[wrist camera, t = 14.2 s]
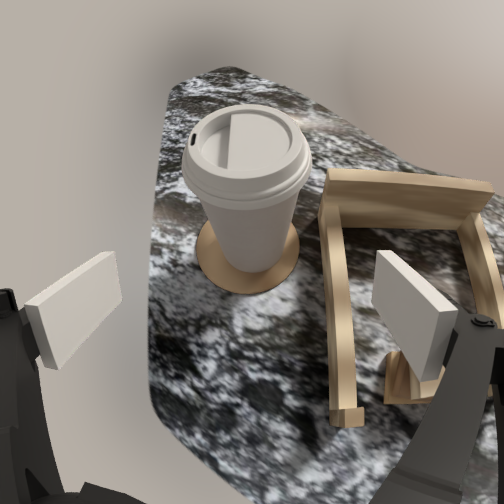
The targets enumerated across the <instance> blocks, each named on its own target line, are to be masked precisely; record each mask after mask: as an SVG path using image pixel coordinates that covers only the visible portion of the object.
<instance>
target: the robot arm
mask: <svg viewBox="0 0 504 504" xmlns="http://www.w3.org/2000/svg"><path fill="white" fill-rule="evenodd" d="M121 302H122V294H121V289H120V283H119V277H118V271H117V264H116V257H115V252H101V253H100V254H98V255H96V256H95V257H93V258H92V259H90V260H89V261H87V262H85V263H84V264H82V265H81V266H79V267H78V268H76V269H75V270H73V271H72V272H70V273H69V274H67V275H66V276H64V277H63V278H61V279H60V280H58V281H57V282H55V283H54V284H52V285H51V286H49V287H48V288H46V289H45V290H43V291H42V292H40V293H39V294H38V295H36V296H35V297H33V298H32V299H31V300H29V301H28V302H26V303H25V304H24V306H25V307H23V308H22V309H21V310H19V311H18V307H17V304H16V300H15V296H14V293H13V290H12V289H6V288H5V289H0V504H146V503H143V502H141V501H139V500H137V499H135V498H133V497H131V496H129V495H127V494H125V493H121V492H117V491H114V490H110V489H107V488H103V487H100V486H97V485H93V484H90V483H87V482H85V483H84V485H83V487H82V489H81V491H80V493H78V492H75V493H74V492H66V493H65V492H64V489H63V486H62V483H61V480H60V476H59V473H58V469H57V466H56V462H55V458H54V455H53V450H52V447H51V442H50V438H49V433H48V428H47V423H46V418H45V412H44V406H43V400H42V394H41V387H40V379H39V371H38V366H37V363H36V361H35V359H36V358H37V357H38V356H39V355H40V356H41V358H42V361H43V364H44V366H45V367H47V368H51V369H55V370H59V369H60V368H61V367H62V366H63V365H64V364H65V363H66V362H67V360H68V359H69V358H70V357H71V356H72V355H73V353H74V352H75V351H76V350H77V349H78V348H79V347H80V346H81V345H82V344H83V342H84V341H85V340H86V339H87V338H88V337H89V336H90V335H91V334H92V333H93V331H94V330H95V329H96V328H97V327H98V326H99V325H100V324H101V323H102V322H103V320H105V318H106V317H107V316H108V315H109V314H110V313H111V312H112V311H113V310H114V309H115V308H116V307H117V306H118V305H119V304H120V303H121ZM371 303H372V304H373V306H374V307H375V309H376V310H377V312H378V314H379V315H380V317H381V318H382V320H383V321H384V323H385V325H386V326H387V328H388V330H389V331H390V333H391V334H392V336H393V338H394V339H395V341H396V343H397V344H398V346H399V348H400V349H401V351H402V353H403V354H404V356H405V358H406V359H407V361H408V363H409V364H410V366H411V368H412V370H413V371H414V373H415V375H416V376H417V378H418V380H419V382H425V381H431V380H437V379H438V378H439V375H440V372H441V369H442V366H444V367H445V372H444V374H443V376H442V379H441V381H440V383H439V386H438V388H437V390H436V392H435V394H434V397H433V399H432V401H431V403H430V405H429V407H428V409H427V411H426V413H425V415H424V417H423V419H422V421H421V423H420V425H419V427H418V429H417V431H416V433H415V434H414V436H413V438H412V440H411V442H410V443H409V445H408V447H407V449H406V450H405V452H404V454H403V456H402V457H401V459H400V461H399V462H398V464H397V465H396V467H395V468H393V469H392V470H391V472H390V473H389V475H388V476H387V478H386V479H385V481H384V482H383V484H382V485H381V487H380V488H379V489H378V491H377V492H376V494H375V495H374V497H373V498H372V499H371V501H370V502H369V503H368V504H460V502H461V499H462V491H459V487H460V484H461V482H462V479H463V476H464V474H465V471H466V468H467V466H468V463H469V460H470V457H471V454H472V451H473V448H474V444H475V441H476V438H477V434H478V431H479V427H480V423H481V420H482V416H483V412H484V407H485V403H486V399H487V394H488V389H489V385H491V386H492V393H493V400H494V408H495V418H496V429H497V443H498V504H504V329H498V326H497V323H496V322H495V321H494V320H493V319H492V318H490V317H488V316H485V315H482V314H469V313H468V312H467V311H465V310H464V309H463V308H462V307H461V306H460V305H459V304H458V303H457V302H456V301H454V300H453V299H452V298H451V297H450V296H449V295H448V294H447V293H445V292H443V291H441V290H439V289H435V288H434V287H433V286H432V285H431V284H430V283H429V282H427V281H426V280H425V279H424V278H423V277H422V276H421V275H419V274H418V273H417V272H416V271H415V270H414V269H413V268H411V267H410V266H409V265H408V264H407V263H406V262H404V261H403V260H402V259H401V258H400V257H399V256H397V255H396V254H395V253H394V252H393V251H391V250H377V255H376V265H375V275H374V284H373V292H372V300H371Z"/></svg>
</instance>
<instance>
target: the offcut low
mask: <svg viewBox="0 0 504 504" xmlns="http://www.w3.org/2000/svg"><path fill="white" fill-rule="evenodd" d="M399 356H400V352H393V351H392V352H390V353H388V354H387V355H386V377H385V392H384V404H419V403H430V402H423V401H417V400H411V399H405V398H399V397H393V396H391V395H392V391H393V386H394V382H395V377H396V372H397V367H398V362H399Z"/></svg>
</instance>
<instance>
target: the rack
mask: <svg viewBox="0 0 504 504" xmlns="http://www.w3.org/2000/svg"><path fill="white" fill-rule="evenodd" d="M494 193H495V192H494V190H493V188H492V185H491V183H490V182H484V181H477V180H469V179H461V178H453V177H445V176H435V175H426V174H415V173H404V172H391V171H377V170H360V169H339V168H328V170H327V175H326V180H325V185H324V189H323V194H322V199H321V203H320V208H319V212H318V224H319V234H320V244H321V255H322V266H323V278H324V292H325V306H326V323H327V342H328V367H329V425H330V426H336V427H342V428H350V427H360V426H364V407H360V408H357V396H356V370H355V352H354V337H353V324H352V312H351V301H350V291H349V282H348V273H347V265H346V256H345V249H344V241H343V234H342V227H348V228H402V229H439V230H456V231H457V234H458V237H459V240H460V244H461V247H462V250H463V254H464V258H465V261H466V265H467V269H468V273H469V277H470V281H471V285H472V290H473V294H474V299H475V304H476V309H477V314H482V315H485V316H488V317H490V318H492V319H493V320H494V321H495V322H496V323H497V326H498V329H504V291H503V287H502V283H501V279H500V275H499V272H498V268H497V264H496V261H495V258H494V254H493V251H492V248H491V245H490V242H489V239H488V236H487V233H486V230H485V227H484V224H483V221H482V219H481V216H480V211H481V210H482V209H483V208H484V206H485V205H486V204H487V202H488V201H489V200H490V199H491V197H492V196H493V195H494ZM490 396H493V393H492V386H491V385H489V389H488V397H490Z"/></svg>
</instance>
